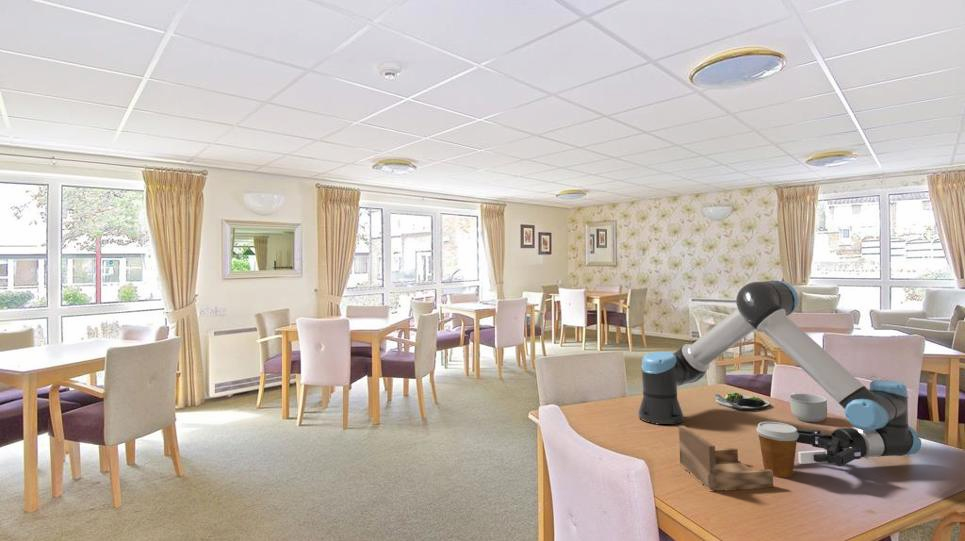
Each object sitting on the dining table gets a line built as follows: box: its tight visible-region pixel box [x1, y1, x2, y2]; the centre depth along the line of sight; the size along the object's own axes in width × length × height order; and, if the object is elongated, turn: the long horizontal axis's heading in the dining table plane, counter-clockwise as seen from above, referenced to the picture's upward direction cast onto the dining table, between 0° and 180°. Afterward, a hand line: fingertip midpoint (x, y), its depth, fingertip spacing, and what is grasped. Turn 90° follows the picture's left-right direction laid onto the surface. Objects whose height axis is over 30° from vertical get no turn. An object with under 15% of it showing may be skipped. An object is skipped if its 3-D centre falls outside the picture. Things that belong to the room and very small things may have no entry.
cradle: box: [678, 425, 774, 491], centre depth 120 cm, size 16×15×11 cm
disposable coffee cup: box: [755, 421, 799, 479], centre depth 121 cm, size 10×10×12 cm
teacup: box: [789, 392, 828, 423], centre depth 163 cm, size 14×11×8 cm
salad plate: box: [714, 391, 771, 412], centre depth 182 cm, size 19×18×5 cm
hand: (779, 447), depth 121 cm, fingers open, 13 cm apart
